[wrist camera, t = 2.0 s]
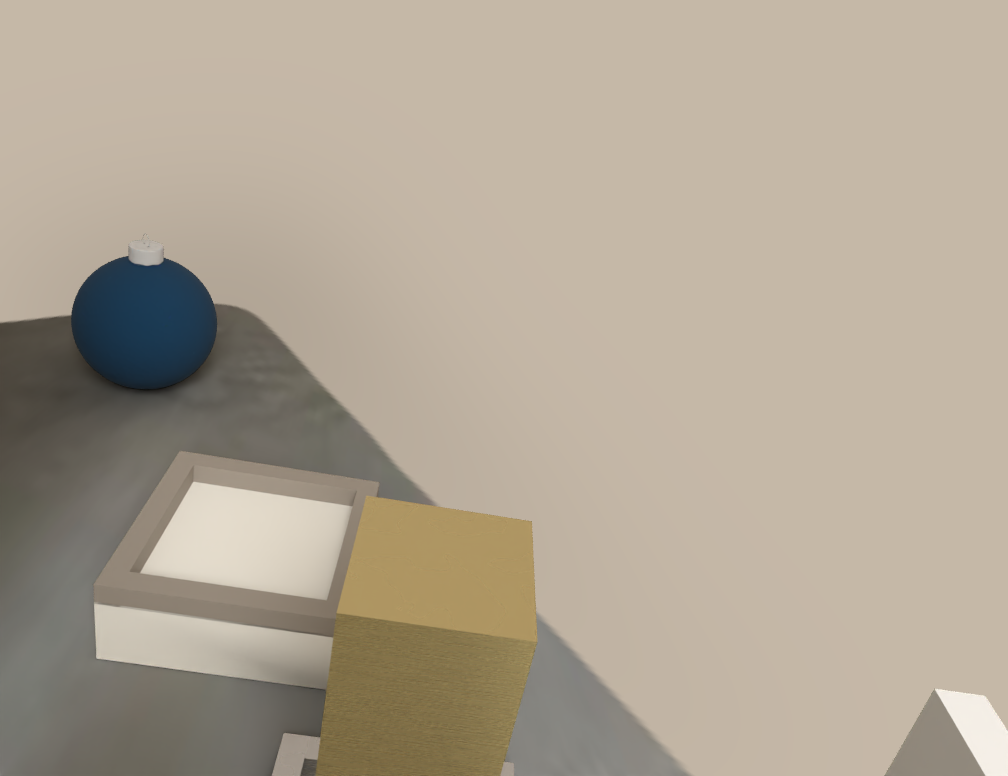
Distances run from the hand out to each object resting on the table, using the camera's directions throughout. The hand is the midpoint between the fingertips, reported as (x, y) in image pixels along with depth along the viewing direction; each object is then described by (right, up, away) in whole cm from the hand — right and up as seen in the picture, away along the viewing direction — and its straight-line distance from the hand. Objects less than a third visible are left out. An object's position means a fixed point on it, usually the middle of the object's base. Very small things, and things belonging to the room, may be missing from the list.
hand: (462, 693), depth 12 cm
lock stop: (-4, -13, +18) cm, 22 cm away
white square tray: (-11, -6, +28) cm, 31 cm away
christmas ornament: (-23, +5, +43) cm, 49 cm away
